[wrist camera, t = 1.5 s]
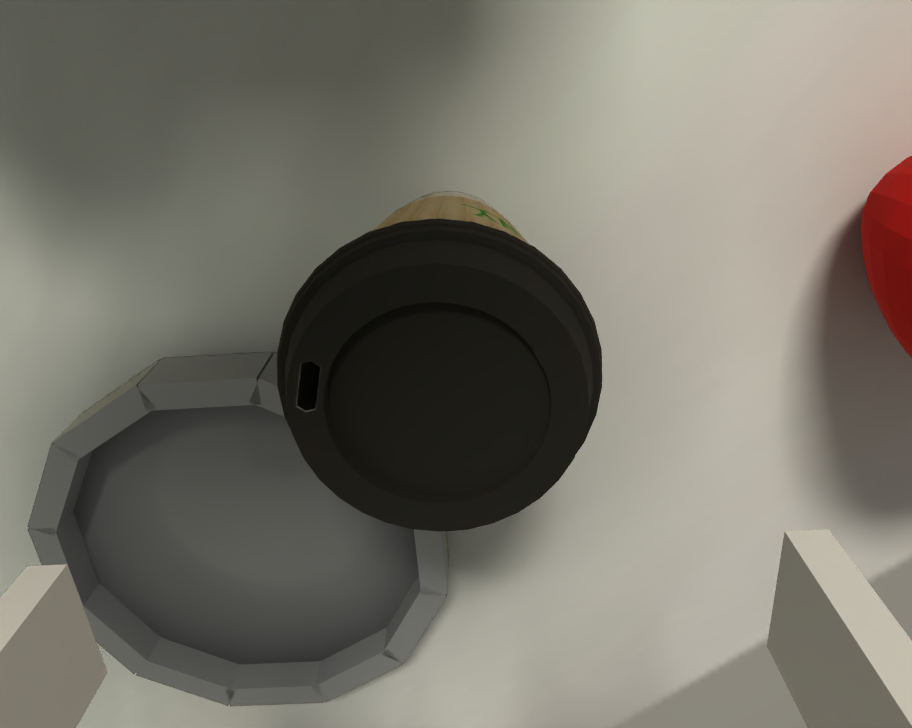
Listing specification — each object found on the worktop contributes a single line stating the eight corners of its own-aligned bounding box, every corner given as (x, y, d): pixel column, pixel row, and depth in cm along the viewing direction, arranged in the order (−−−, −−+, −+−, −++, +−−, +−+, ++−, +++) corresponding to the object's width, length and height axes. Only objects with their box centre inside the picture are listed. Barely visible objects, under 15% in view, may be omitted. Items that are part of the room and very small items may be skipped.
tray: (10, 366, 36) (-27, 393, 33) (428, 342, 35) (425, 368, 32) (122, 670, 45) (100, 711, 42) (457, 656, 44) (456, 697, 41)
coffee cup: (526, 368, 36) (564, 572, 22) (332, 333, 35) (248, 521, 21) (576, 173, 32) (661, 276, 18) (359, 129, 31) (275, 201, 17)
